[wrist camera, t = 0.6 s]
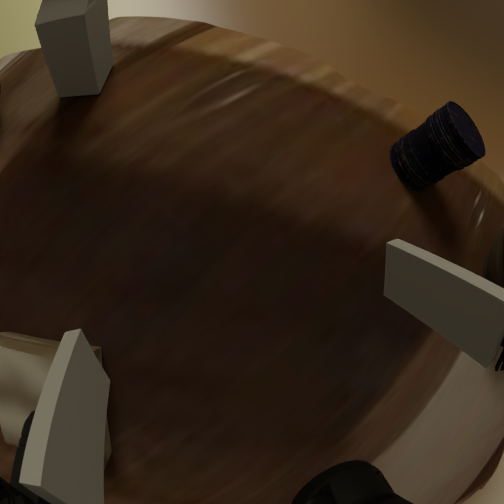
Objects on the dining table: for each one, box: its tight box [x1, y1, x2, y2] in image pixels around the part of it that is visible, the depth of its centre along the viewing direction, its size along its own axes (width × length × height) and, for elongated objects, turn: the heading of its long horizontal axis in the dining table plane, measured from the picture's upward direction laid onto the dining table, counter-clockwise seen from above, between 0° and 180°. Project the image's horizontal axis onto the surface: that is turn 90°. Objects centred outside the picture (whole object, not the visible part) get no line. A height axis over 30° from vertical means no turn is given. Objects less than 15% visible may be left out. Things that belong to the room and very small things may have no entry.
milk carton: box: [35, 0, 113, 97], centre depth 22 cm, size 7×7×19 cm
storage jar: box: [390, 101, 485, 191], centre depth 35 cm, size 10×10×15 cm
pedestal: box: [0, 332, 112, 469], centre depth 20 cm, size 13×13×6 cm
